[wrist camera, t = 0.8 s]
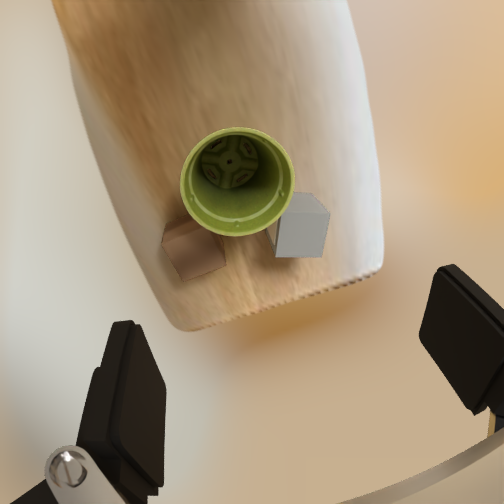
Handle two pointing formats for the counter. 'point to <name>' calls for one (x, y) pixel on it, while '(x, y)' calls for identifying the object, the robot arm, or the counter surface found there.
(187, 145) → the counter surface
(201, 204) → the plant pot
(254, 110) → the counter surface
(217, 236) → the walnut block
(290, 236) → the slate block
